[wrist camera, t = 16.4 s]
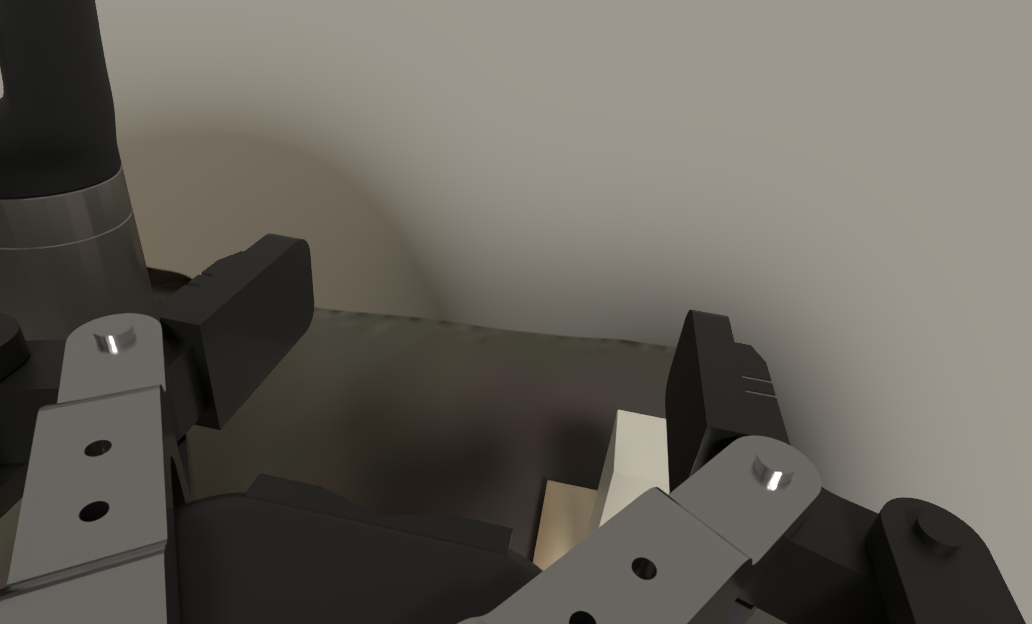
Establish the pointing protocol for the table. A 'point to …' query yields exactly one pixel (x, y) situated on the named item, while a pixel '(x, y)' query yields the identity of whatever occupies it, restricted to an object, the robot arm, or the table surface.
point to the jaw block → (631, 465)
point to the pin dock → (562, 521)
